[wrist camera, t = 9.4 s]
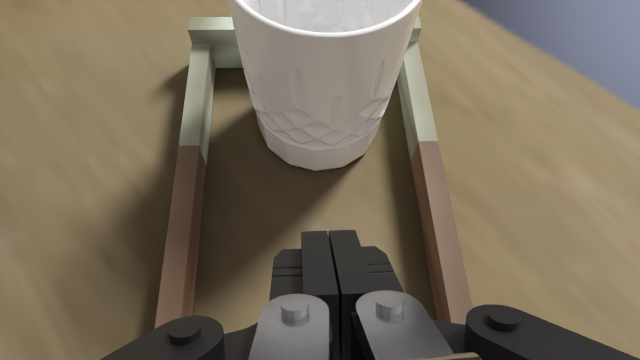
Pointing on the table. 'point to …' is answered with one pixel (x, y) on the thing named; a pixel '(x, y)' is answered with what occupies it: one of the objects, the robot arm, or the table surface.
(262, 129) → the white cup
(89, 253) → the table surface
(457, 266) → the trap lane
